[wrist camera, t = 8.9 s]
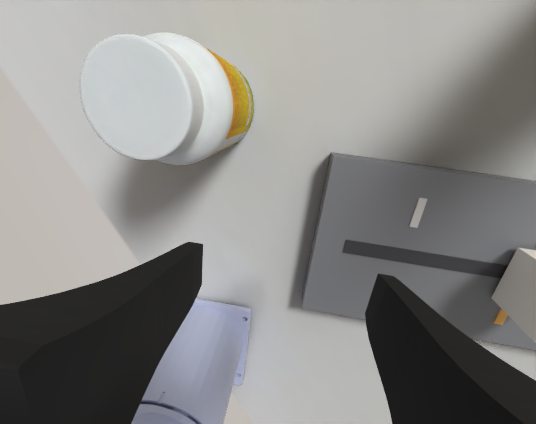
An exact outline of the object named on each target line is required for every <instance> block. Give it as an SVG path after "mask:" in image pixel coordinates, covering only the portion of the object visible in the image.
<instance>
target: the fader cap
mask: <svg viewBox="0 0 536 424" xmlns="http://www.w3.org/2000/svg"><path fill="white" fill-rule="evenodd" d="M491 298H492V299H493V300H494V301H495V302H496V303H497V305H498V306H499V307H500V308H501V309H502V310H503V311H504V312H505V313H506V314H507V315H508V316H509V317H510V318H511V319H512V320H513V321H514V322H515V323H516V324H517V325H518V326H519V327H520V328H521V329H522V330H523V331H524V332H525V333H526V334H527V335H528V336H529V337H530V338H531V339H532V340H533V341H534V342H535V343H536V250H531V249H524V248H517V250H516V252H515V254H514V256H513V258H512V260H511V262H510V263H509V265H508V267H507V269H506V271H505V273H504V275H503V277H502V278H501V280H500V282H499V284H498V286H497V288H496V290H495V292H494V294H493V295H492V297H491Z"/></svg>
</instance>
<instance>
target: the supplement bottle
mask: <svg viewBox="0 0 536 424" xmlns="http://www.w3.org/2000/svg"><path fill="white" fill-rule="evenodd" d="M80 95H81V102H82V106H83V109H84V112H85V114H86V117H87V119H88V121H89V123H90V124H91V126H92V128H93V129H94V131H95V132H96V133H97V135H98V136H99V137H100V138H101V139H102V140H103V141H104V142H105V143H106V144H107V145H108V146H109V147H110V148H112V149H113V150H115V151H116V152H118V153H120V154H121V155H124V156H126V157H129V158H133V159H136V160H144V161H148V160H157V161H159V162H162V163H166V164H171V165H188V164H193V163H196V162H199V161H201V160H204V159H206V158H208V157H210V156H212V155H214V154H216V153H218V152H219V151H221V150H223V149H226V148H228V147H230V146H232V145H233V144H235V143H237V142H238V141H239V140H241V139H242V138H243V137H244V136H245V134H246V133H247V132H248V130H249V128H250V126H251V124H252V121H253V117H254V109H255V104H254V96H253V92H252V89H251V86H250V84H249V82H248V81H247V79H246V78H245V76H244V75H243V74H242V73H241V72H240V71H239V70H238V69H237V68H236V67H234V66H233V65H232V64H230V63H229V62H227V61H226V60H224V59H222V58H221V57H219V56H218V55H216V54H215V53H213V52H211V51H210V50H208V49H207V48H205V47H204V46H202V45H201V44H199V43H197V42H196V41H194V40H192V39H190V38H188V37H185V36H182V35H179V34H175V33H166V32H165V33H153V34H149V35H146V36H144V37H142V36H138V35H133V34H119V35H115V36H111V37H108V38H106V39H104V40H102V41H101V42H100V43H98V44H97V45H96V46H95V47H94V48H93V49H92V50H91V51H90V53H89V54H88V56H87V58H86V59H85V61H84V64H83V66H82V70H81V75H80Z"/></svg>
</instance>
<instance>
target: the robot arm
mask: <svg viewBox="0 0 536 424" xmlns="http://www.w3.org/2000/svg"><path fill="white" fill-rule="evenodd" d="M202 256H203V244H199V243H193V242H187V243H185V244H183V245H180V246H178V247H176V248H174V249H172V250H171V251H169V252H167V253H165V254H163V255H161V256H159V257H157V258H155V259H153V260H150V261H148V262H146V263H144V264H142V265H139V266H137V267H135V268H133V269H130V270H128V271H126V272H123V273H121V274H118V275H116V276H113V277H110V278H107V279H104V280H102V281H99V282H96V283H93V284H89V285H86V286H82V287H79V288H76V289H72V290H68V291H65V292H61V293H57V294H53V295H49V296H45V297H40V298H35V299H31V300H26V301H21V302H15V303H10V304H4V305H0V424H223V422H224V418H225V414H226V410H227V406H228V402H229V398H230V394H231V390H232V386H233V385H237V386H239V385H242V383H243V378H244V370H245V362H246V354H247V345H248V337H249V329H250V321H251V310H250V309H249V308H247V307H241V306H236V305H230V304H225V303H219V302H214V301H208V300H203V299H197V298H196V297H197V294H198V292H199V290H200V287H201V285H202ZM244 317H246V318H244ZM365 318H366V325H367V331H368V337H369V341H370V344H371V348H372V351H373V354H374V358H375V361H376V364H377V368H378V371H379V374H380V377H381V381H382V384H383V387H384V391H385V394H386V397H387V401H388V405H389V409H390V413H391V418H392V423H393V424H536V381H535V380H534V379H532V378H530V377H529V376H527V375H525V374H524V373H522V372H520V371H519V370H517V369H515V368H514V367H512V366H511V365H509V364H507V363H506V362H504V361H503V360H501V359H500V358H498V357H497V356H495V355H494V354H492V353H491V352H489V351H488V350H486V349H485V348H483V347H482V346H481V345H479V344H478V343H476V342H475V341H473V340H472V339H471V338H469V337H468V336H466V335H465V334H464V333H462V332H461V331H460V330H459V329H457V328H456V327H455V326H453V325H452V324H451V323H450V322H448V321H447V320H446V319H445V318H443V317H442V316H441V315H440V314H438V313H437V312H436V311H435V310H434V309H432V308H431V307H430V306H429V305H428V304H427V303H425V302H424V301H423V300H422V299H421V298H420V297H418V296H417V295H416V294H415V293H414V292H413V291H411V290H410V289H409V288H408V287H407V286H406V285H404V284H403V283H402V282H401V281H400V280H398V279H397V278H396V277H394V276H390V275H384V274H378V275H377V278H376V281H375V284H374V287H373V290H372V293H371V296H370V299H369V302H368V305H367V309H366V312H365Z"/></svg>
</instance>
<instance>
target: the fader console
mask: <svg viewBox="0 0 536 424" xmlns="http://www.w3.org/2000/svg"><path fill="white" fill-rule="evenodd" d="M517 248H524V249H531V250H536V181H532V180H525V179H517V178H510V177H503V176H496V175H489V174H482V173H474V172H467V171H460V170H453V169H446V168H439V167H431V166H424V165H417V164H410V163H403V162H396V161H388V160H381V159H374V158H367V157H360V156H352V155H345V154H338V153H331V156H330V161H329V166H328V171H327V176H326V181H325V186H324V190H323V195H322V200H321V205H320V210H319V215H318V220H317V224H316V229H315V234H314V239H313V244H312V249H311V254H310V259H309V263H308V268H307V273H306V278H305V283H304V288H303V293H302V309H308V310H313V311H319V312H324V313H330V314H335V315H341V316H347V317H352V318H358V319H363V320H366V318H365V312H366V309H367V305H368V302H369V299H370V296H371V293H372V290H373V287H374V284H375V281H376V278H377V275H378V274H384V275H390V276H394V277H396V278H397V279H398V280H400V281H401V282H402V283H403V284H404V285H406V286H407V287H408V288H409V289H410V290H411V291H413V292H414V293H415V294H416V295H417V296H418V297H420V298H421V299H422V300H423V301H424V302H425V303H427V304H428V305H429V306H430V307H431V308H432V309H434V310H435V311H436V312H437V313H438V314H440V315H441V316H442V317H443V318H445V319H446V320H447V321H448V322H450V323H451V324H452V325H453V326H455V327H456V328H457V329H459V330H460V331H461V332H462V333H464V334H465V335H466V336H468V337H469V338H471V339H475V340H481V341H486V342H492V343H497V344H503V345H509V346H514V347H520V348H525V349H531V350H536V343H535V342H534V341H533V340H532V339H531V338H530V337H529V336H528V335H527V334H526V333H525V332H524V331H523V330H522V329H521V328H520V327H519V326H518V325H517V324H516V323H515V322H514V321H513V320H512V319H511V318H510V317H509V316H508V315H507V314H506V313H505V312H504V311H503V310H502V309H501V308H500V307H499V306H498V305H497V303H496V302H495V301H494V300H493V299H492V298H491V297H492V295H493V294H494V292H495V290H496V288H497V286H498V284H499V282H500V280H501V278H502V277H503V275H504V273H505V271H506V269H507V267H508V265H509V263H510V262H511V260H512V258H513V256H514V254H515V252H516V250H517Z"/></svg>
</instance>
